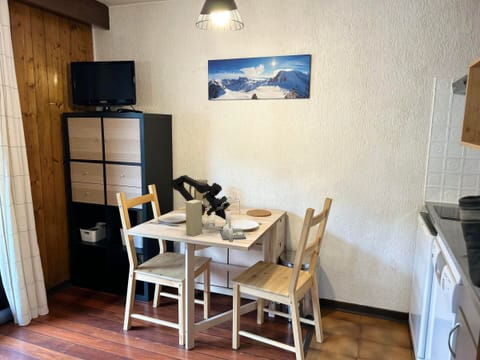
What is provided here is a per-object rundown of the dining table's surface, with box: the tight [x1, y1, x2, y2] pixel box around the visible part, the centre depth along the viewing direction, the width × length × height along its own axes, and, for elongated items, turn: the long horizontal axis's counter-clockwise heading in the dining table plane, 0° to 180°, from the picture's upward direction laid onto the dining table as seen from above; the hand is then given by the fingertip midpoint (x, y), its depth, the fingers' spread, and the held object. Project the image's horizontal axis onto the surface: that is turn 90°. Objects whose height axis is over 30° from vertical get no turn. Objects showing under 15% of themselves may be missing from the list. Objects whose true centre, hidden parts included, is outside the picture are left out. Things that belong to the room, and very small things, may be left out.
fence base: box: [222, 224, 234, 243], centre depth 210 cm, size 10×4×8 cm, turn 25°
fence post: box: [225, 207, 232, 228], centre depth 218 cm, size 8×3×15 cm, turn 174°
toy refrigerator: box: [185, 199, 203, 237], centre depth 218 cm, size 8×7×21 cm
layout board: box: [219, 229, 247, 241], centre depth 217 cm, size 16×14×1 cm
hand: (226, 219), depth 222 cm, fingers closed, pressing on fence post
